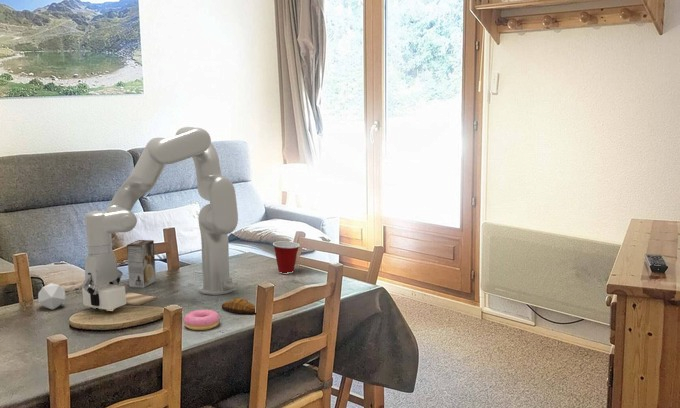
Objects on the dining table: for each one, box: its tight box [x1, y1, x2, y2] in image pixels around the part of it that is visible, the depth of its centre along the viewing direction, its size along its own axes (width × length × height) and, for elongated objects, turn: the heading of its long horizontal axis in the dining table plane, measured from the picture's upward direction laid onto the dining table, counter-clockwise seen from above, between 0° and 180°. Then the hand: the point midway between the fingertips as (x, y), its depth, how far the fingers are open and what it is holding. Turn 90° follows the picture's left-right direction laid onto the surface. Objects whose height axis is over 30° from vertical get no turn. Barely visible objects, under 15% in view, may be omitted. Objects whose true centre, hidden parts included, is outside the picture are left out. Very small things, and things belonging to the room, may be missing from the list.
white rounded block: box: [81, 283, 127, 311], centre depth 217 cm, size 12×7×6 cm, turn 62°
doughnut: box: [183, 309, 221, 331], centre depth 202 cm, size 11×11×4 cm
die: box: [37, 282, 66, 311], centre depth 220 cm, size 8×9×10 cm
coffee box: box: [126, 239, 157, 289], centre depth 247 cm, size 9×6×16 cm
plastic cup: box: [272, 240, 301, 273], centre depth 264 cm, size 11×11×12 cm
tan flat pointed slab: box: [125, 292, 158, 306], centre depth 229 cm, size 13×9×1 cm
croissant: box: [221, 297, 256, 315], centre depth 216 cm, size 14×7×5 cm, turn 65°
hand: (104, 301), depth 217 cm, fingers closed on white rounded block, 7 cm apart
